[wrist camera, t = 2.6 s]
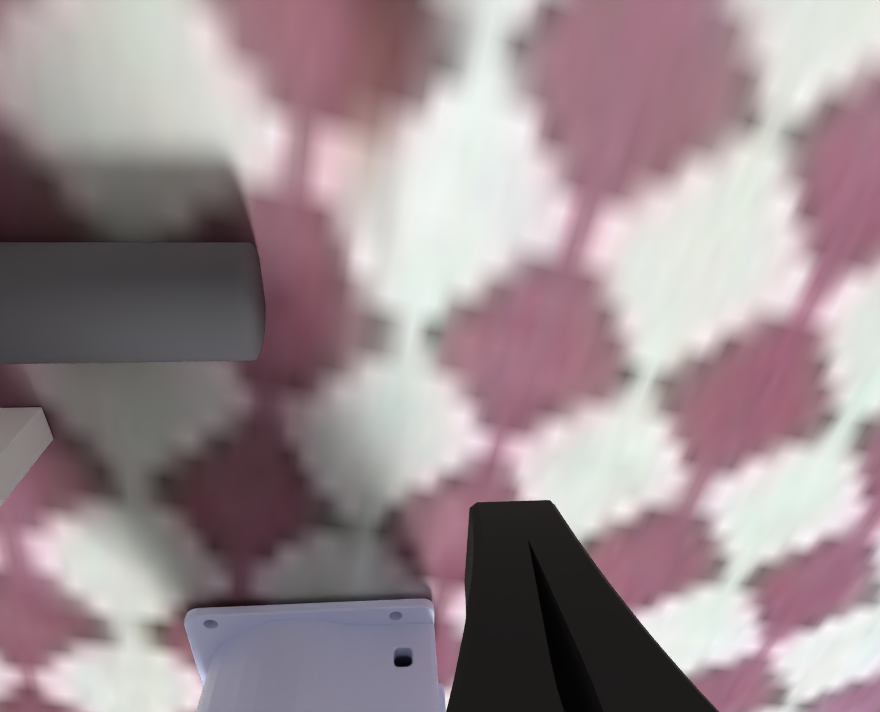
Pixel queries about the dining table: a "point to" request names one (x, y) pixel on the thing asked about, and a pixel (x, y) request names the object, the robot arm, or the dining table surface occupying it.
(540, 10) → the dining table surface
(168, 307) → the dark grey cylinder
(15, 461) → the duct
